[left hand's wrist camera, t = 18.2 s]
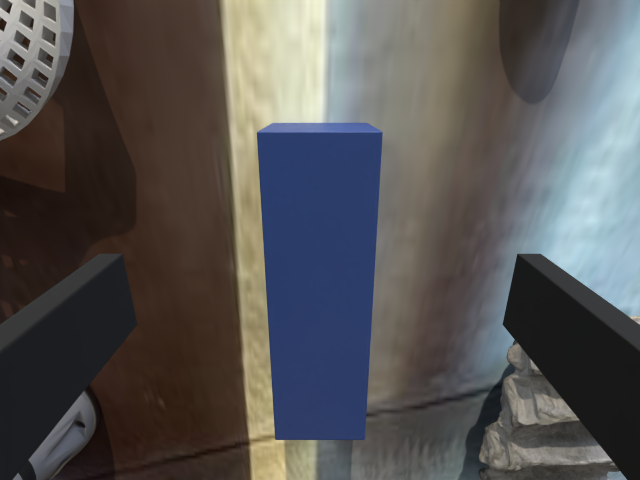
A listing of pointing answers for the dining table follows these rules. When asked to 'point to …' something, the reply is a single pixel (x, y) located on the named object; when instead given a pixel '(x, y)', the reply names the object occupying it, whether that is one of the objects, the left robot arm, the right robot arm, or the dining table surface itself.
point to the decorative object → (32, 57)
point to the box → (319, 273)
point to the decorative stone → (539, 432)
